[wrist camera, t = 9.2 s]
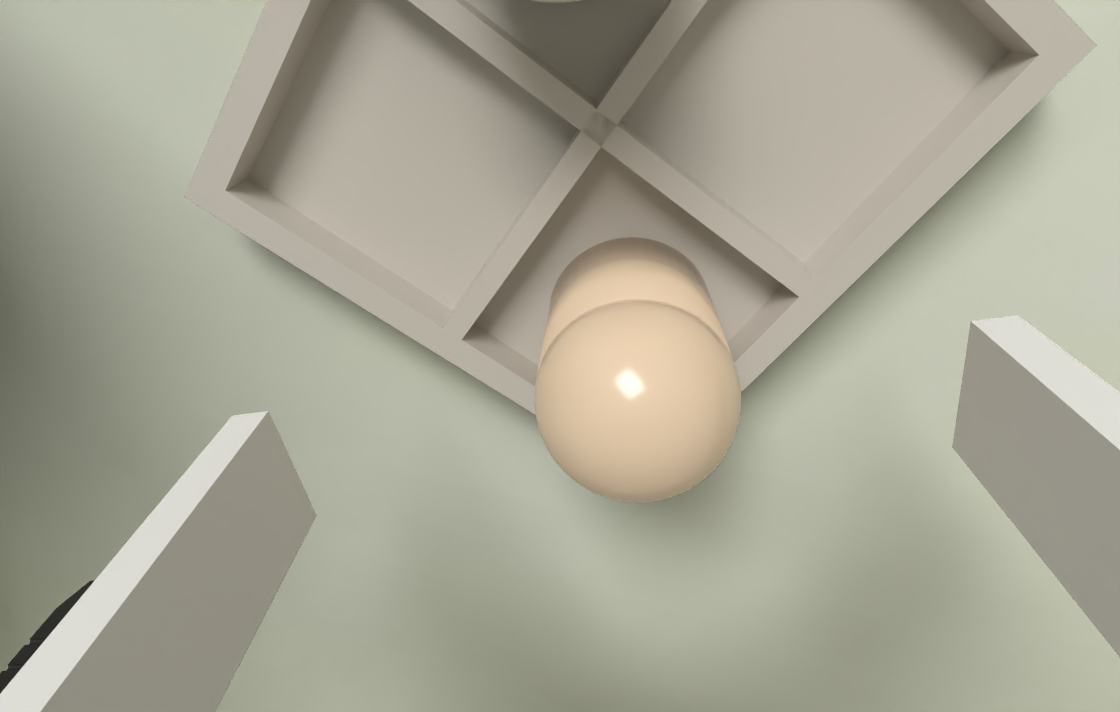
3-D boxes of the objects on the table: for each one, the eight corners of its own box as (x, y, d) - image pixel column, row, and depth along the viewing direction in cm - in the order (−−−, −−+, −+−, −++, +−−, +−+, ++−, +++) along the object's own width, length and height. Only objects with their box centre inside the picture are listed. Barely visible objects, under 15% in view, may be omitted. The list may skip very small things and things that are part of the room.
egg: (518, 328, 19) (479, 476, 13) (615, 203, 17) (621, 310, 11) (641, 409, 20) (656, 580, 14) (745, 300, 18) (813, 445, 12)
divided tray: (224, 178, 18) (184, 197, 17) (518, -484, 12) (504, -567, 10) (643, 445, 22) (647, 484, 20) (1041, 40, 16) (1097, 45, 14)
